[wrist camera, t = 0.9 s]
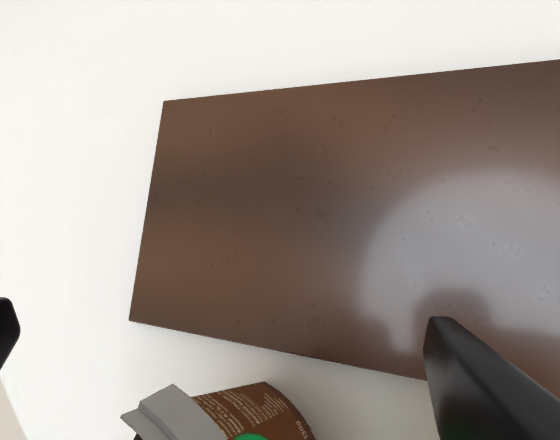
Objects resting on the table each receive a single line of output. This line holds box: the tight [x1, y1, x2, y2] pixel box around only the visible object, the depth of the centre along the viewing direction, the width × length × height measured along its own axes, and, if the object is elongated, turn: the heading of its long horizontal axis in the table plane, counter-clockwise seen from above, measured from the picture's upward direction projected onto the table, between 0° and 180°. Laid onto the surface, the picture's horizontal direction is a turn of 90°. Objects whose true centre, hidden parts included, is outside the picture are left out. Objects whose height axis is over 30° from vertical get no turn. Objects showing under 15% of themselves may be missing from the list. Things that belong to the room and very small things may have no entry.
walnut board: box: [129, 59, 560, 400], centre depth 21 cm, size 14×22×1 cm, turn 83°
